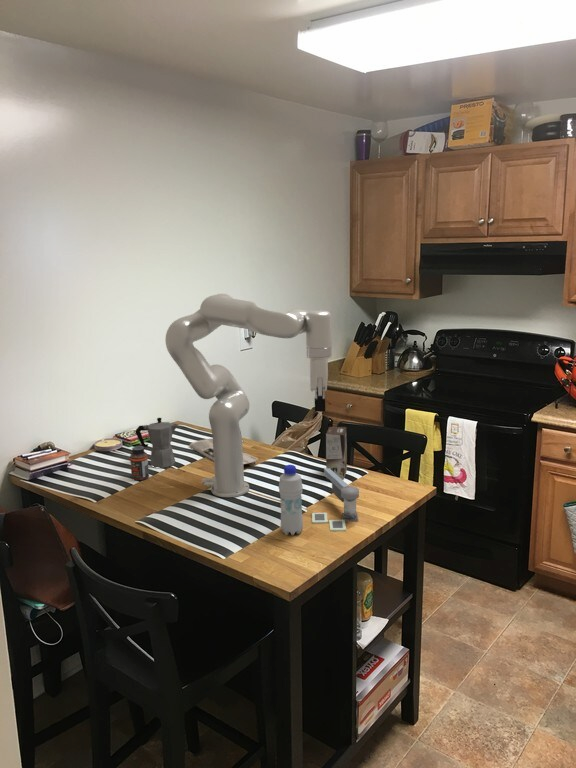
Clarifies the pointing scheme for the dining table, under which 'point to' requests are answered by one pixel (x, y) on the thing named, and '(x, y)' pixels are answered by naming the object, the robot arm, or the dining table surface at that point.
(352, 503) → the post
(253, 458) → the newspaper
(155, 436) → the coffeepot
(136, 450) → the supplement bottle
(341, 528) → the label tile
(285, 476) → the bottle
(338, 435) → the coffee box
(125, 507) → the dining table surface
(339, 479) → the bar
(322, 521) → the label tile
